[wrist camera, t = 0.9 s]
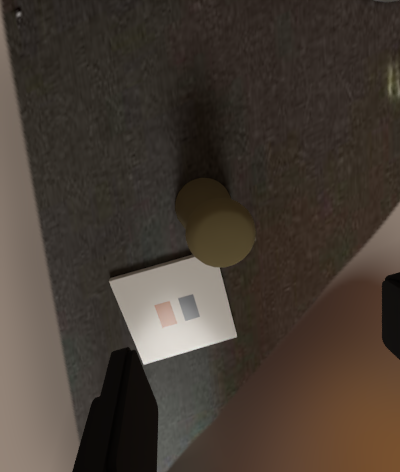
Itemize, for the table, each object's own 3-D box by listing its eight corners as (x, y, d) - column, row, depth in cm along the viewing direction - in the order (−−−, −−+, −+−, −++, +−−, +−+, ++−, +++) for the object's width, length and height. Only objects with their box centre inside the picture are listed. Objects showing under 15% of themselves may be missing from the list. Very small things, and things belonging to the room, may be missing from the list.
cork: (165, 192, 28) (165, 221, 18) (218, 167, 28) (250, 181, 18) (189, 242, 30) (202, 293, 20) (239, 219, 30) (278, 258, 20)
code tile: (214, 248, 31) (215, 251, 30) (235, 332, 35) (237, 336, 34) (110, 278, 30) (109, 281, 30) (144, 359, 34) (143, 364, 34)
